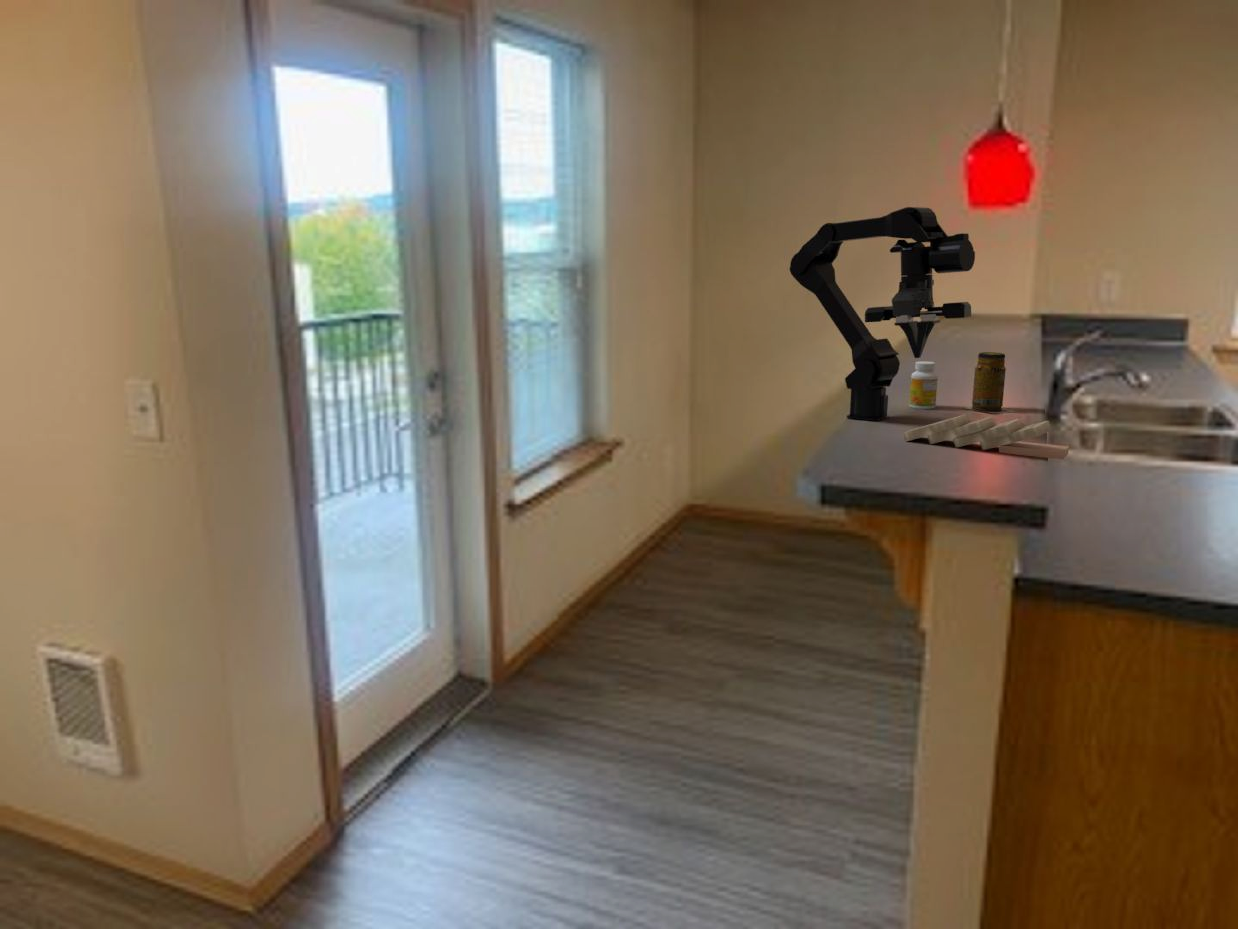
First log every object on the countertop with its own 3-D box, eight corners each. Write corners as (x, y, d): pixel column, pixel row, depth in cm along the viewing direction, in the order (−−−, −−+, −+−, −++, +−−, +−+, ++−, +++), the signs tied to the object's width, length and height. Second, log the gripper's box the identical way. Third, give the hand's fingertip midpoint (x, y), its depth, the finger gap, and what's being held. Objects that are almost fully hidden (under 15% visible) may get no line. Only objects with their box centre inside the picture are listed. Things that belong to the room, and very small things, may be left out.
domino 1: (902, 433, 165) (955, 418, 158) (914, 428, 169) (966, 413, 162) (905, 441, 165) (958, 427, 158) (917, 437, 169) (969, 422, 162)
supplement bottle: (905, 405, 201) (908, 361, 199) (929, 404, 202) (932, 360, 200) (915, 409, 196) (918, 364, 194) (939, 409, 197) (942, 363, 194)
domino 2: (927, 435, 163) (978, 421, 155) (942, 430, 166) (992, 416, 158) (930, 444, 163) (981, 430, 155) (944, 438, 166) (995, 425, 158)
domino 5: (999, 445, 156) (1063, 451, 150) (1005, 440, 160) (1068, 446, 155) (998, 454, 156) (1062, 461, 151) (1005, 449, 160) (1068, 455, 155)
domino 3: (952, 438, 160) (1006, 424, 152) (966, 432, 163) (1019, 418, 156) (955, 447, 160) (1010, 433, 152) (969, 441, 163) (1022, 427, 156)
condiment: (986, 405, 200) (991, 350, 198) (1018, 411, 193) (1023, 354, 190) (961, 408, 197) (965, 352, 194) (992, 414, 190) (997, 356, 187)
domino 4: (979, 441, 157) (1035, 427, 149) (992, 434, 160) (1048, 420, 153) (982, 450, 157) (1038, 436, 149) (995, 443, 160) (1051, 429, 153)
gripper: (853, 279, 173) (855, 362, 176) (956, 271, 163) (956, 360, 165) (873, 278, 182) (875, 357, 185) (971, 271, 172) (972, 355, 174)
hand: (917, 357), depth 177 cm, fingers closed
